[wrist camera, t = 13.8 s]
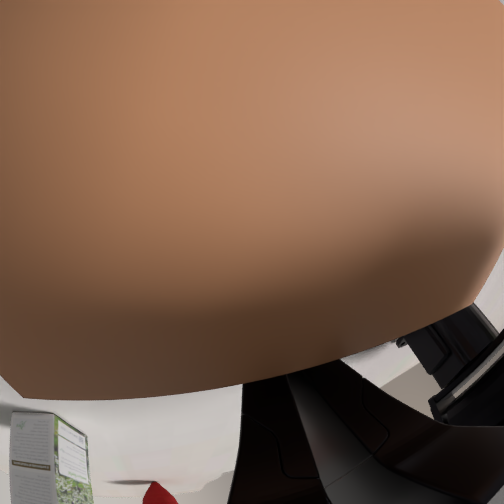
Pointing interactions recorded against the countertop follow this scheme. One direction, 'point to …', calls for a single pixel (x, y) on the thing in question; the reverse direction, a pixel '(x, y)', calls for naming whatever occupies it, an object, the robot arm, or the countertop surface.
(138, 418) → the countertop surface
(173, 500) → the strawberry
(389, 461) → the robot arm
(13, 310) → the block
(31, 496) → the syrup box
